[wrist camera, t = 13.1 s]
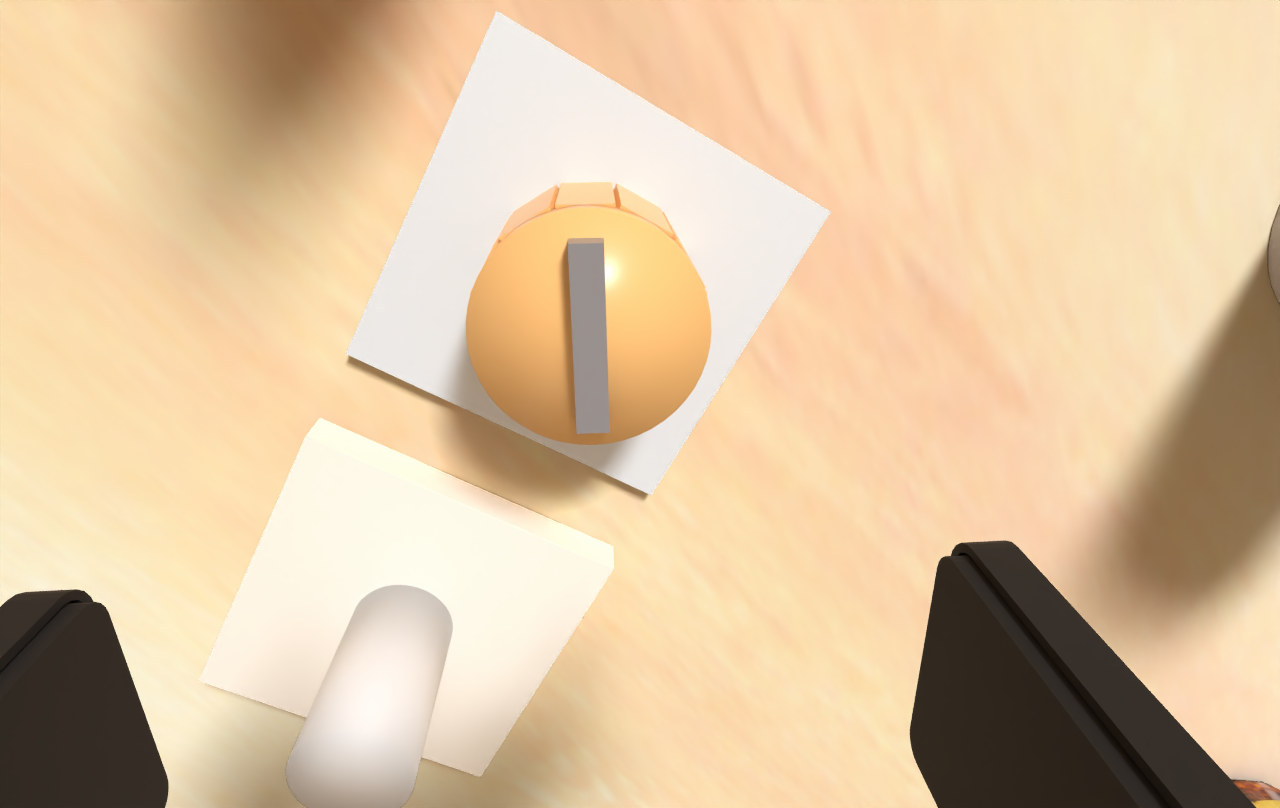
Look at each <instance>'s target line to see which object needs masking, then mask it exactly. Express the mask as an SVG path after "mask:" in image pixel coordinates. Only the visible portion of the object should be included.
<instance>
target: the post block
mask: <svg viewBox="0 0 1280 808" xmlns="http://www.w3.org/2000/svg"><path fill="white" fill-rule="evenodd" d="M613 569H614V559H613V546H611V545H609V544H606V543H604V542H602V541H600V540H597V539H595V538H593V537H591V536H588V535H586V534H584V533H581V532H579V531H577V530H575V529H572V528H570V527H568V526H565V525H563V524H561V523H559V522H556V521H554V520H552V519H549V518H547V517H545V516H543V515H540V514H538V513H536V512H534V511H531V510H529V509H527V508H524V507H522V506H520V505H518V504H515V503H513V502H511V501H508V500H506V499H504V498H502V497H499V496H497V495H495V494H492V493H490V492H488V491H486V490H483V489H481V488H479V487H477V486H474V485H472V484H470V483H467V482H465V481H463V480H461V479H458V478H456V477H454V476H451V475H449V474H447V473H445V472H442V471H440V470H438V469H435V468H433V467H431V466H429V465H426V464H424V463H422V462H419V461H417V460H415V459H413V458H410V457H408V456H406V455H404V454H401V453H399V452H397V451H394V450H392V449H390V448H388V447H385V446H383V445H381V444H378V443H376V442H374V441H372V440H369V439H367V438H365V437H362V436H360V435H358V434H356V433H353V432H351V431H349V430H347V429H344V428H342V427H340V426H337V425H335V424H333V423H331V422H328V421H326V420H324V419H321V418H320V419H319V420H318V421H317V422H316V424H315V425H314V426H313V427H312V429H311V430H310V431H309V432H308V434H307V435H306V437H305V439H304V441H303V443H302V446H301V448H300V450H299V453H298V455H297V457H296V459H295V462H294V464H293V466H292V469H291V471H290V473H289V475H288V478H287V480H286V482H285V485H284V487H283V489H282V491H281V494H280V496H279V498H278V501H277V503H276V505H275V507H274V510H273V512H272V514H271V517H270V519H269V521H268V523H267V526H266V528H265V530H264V533H263V535H262V537H261V540H260V542H259V544H258V546H257V549H256V551H255V553H254V556H253V558H252V560H251V562H250V565H249V567H248V569H247V572H246V574H245V576H244V578H243V581H242V583H241V585H240V588H239V590H238V592H237V594H236V597H235V599H234V601H233V604H232V606H231V608H230V610H229V613H228V615H227V617H226V620H225V622H224V624H223V626H222V629H221V631H220V633H219V636H218V638H217V640H216V642H215V645H214V647H213V649H212V652H211V654H210V656H209V658H208V661H207V663H206V665H205V668H204V670H203V672H202V674H201V677H200V679H199V681H200V682H203V683H206V684H209V685H212V686H215V687H218V688H221V689H223V690H226V691H229V692H232V693H235V694H238V695H241V696H244V697H247V698H250V699H253V700H256V701H259V702H261V703H264V704H267V705H270V706H273V707H276V708H279V709H282V710H285V711H288V712H291V713H294V714H297V715H300V716H302V717H305V718H306V721H305V723H304V725H303V727H302V730H301V732H300V734H299V736H298V739H297V741H296V743H295V745H294V748H293V750H292V752H291V754H290V757H289V759H288V762H287V765H286V780H287V784H288V786H289V788H290V790H291V792H292V794H293V795H294V796H295V797H296V799H297V800H298V801H299V802H300V803H301V804H303V805H304V806H305V807H307V808H401V807H402V806H403V805H404V804H405V803H406V802H407V800H408V799H409V798H410V796H411V794H412V792H413V789H414V785H415V781H416V777H417V773H418V769H419V765H420V761H421V757H422V758H425V759H428V760H431V761H434V762H437V763H440V764H443V765H446V766H449V767H452V768H455V769H458V770H460V771H463V772H466V773H469V774H472V775H475V776H478V777H481V776H482V774H483V773H484V771H485V770H486V768H487V766H488V765H489V763H490V762H491V760H492V759H493V757H494V755H495V754H496V752H497V751H498V749H499V748H500V746H501V745H502V743H503V741H504V740H505V738H506V737H507V735H508V734H509V732H510V730H511V729H512V727H513V726H514V724H515V723H516V721H517V719H518V718H519V716H520V715H521V713H522V712H523V710H524V709H525V707H526V705H527V704H528V702H529V701H530V699H531V698H532V696H533V694H534V693H535V691H536V690H537V688H538V687H539V685H540V683H541V682H542V680H543V679H544V677H545V676H546V674H547V673H548V671H549V669H550V668H551V666H552V665H553V663H554V662H555V660H556V658H557V657H558V655H559V654H560V652H561V651H562V649H563V647H564V646H565V644H566V643H567V641H568V640H569V638H570V637H571V635H572V633H573V632H574V630H575V629H576V627H577V626H578V624H579V622H580V621H581V619H582V618H583V616H584V615H585V613H586V611H587V610H588V608H589V607H590V605H591V604H592V602H593V601H594V599H595V597H596V596H597V594H598V593H599V591H600V590H601V588H602V586H603V585H604V583H605V582H606V580H607V579H608V577H609V575H610V574H611V572H612V571H613Z"/></svg>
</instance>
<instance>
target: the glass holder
mask: <svg viewBox="0 0 1280 808" xmlns="http://www.w3.org/2000/svg"><path fill="white" fill-rule="evenodd" d="M1268 269H1269V275H1270V280H1271V286H1272V288H1273V290H1274V293H1275V295H1276V297H1277V300H1278V302H1279V303H1280V206H1279V209H1278V212H1277V215H1276V218H1275V220H1274V223H1273V226H1272V232H1271V237H1270V242H1269V247H1268Z"/></svg>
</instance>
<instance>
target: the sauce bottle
mask: <svg viewBox="0 0 1280 808" xmlns="http://www.w3.org/2000/svg"><path fill="white" fill-rule="evenodd" d="M1233 783H1234V784H1235V785H1236V786H1237V787H1238V788H1239V789H1240V790H1241V791H1242V792H1243V793H1244V795H1245V796H1246V797H1247V798H1248V799H1249V800H1250V801H1251V802H1252V803H1253V804H1254V805H1255V807H1256V808H1280V790H1279V789H1276V788H1274V787H1272V786H1271V785H1269V784H1266V783H1264V782H1253V781H1244V780H1238V781H1233Z"/></svg>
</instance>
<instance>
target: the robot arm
mask: <svg viewBox="0 0 1280 808" xmlns="http://www.w3.org/2000/svg"><path fill="white" fill-rule="evenodd" d="M910 741H911V747H912V751H913V755H914V758H915V760H916V763H917V765H918V767H919V769H920V771H921V773H922V775H923V778H924V780H925V782H926V784H927V786H928V788H929V790H930V792H931V794H932V796H933V798H934V800H935V802H936V804H937V806H938V808H1256V807H1255V805H1254V804H1253V803H1252V802H1251V801H1250V800H1249V799H1248V798H1247V797H1246V796H1245V795H1244V793H1243V792H1242V791H1241V790H1240V789H1239V788H1238V787H1237V786H1236V785H1235V784H1234V783H1233V781H1232V780H1231V779H1230V778H1229V777H1228V776H1227V775H1226V774H1225V773H1224V772H1223V771H1222V769H1221V768H1220V767H1219V766H1218V765H1217V764H1216V763H1215V762H1214V761H1213V760H1212V759H1211V757H1210V756H1209V755H1208V754H1207V753H1206V752H1205V751H1204V750H1203V749H1202V748H1201V747H1200V745H1199V744H1198V743H1197V742H1196V741H1195V740H1194V739H1193V738H1192V737H1191V736H1190V735H1189V733H1188V732H1187V731H1186V730H1185V729H1184V728H1183V727H1182V726H1181V725H1180V724H1179V722H1178V721H1177V720H1176V719H1175V718H1174V717H1173V716H1172V715H1171V714H1170V713H1169V712H1168V710H1167V709H1166V708H1165V707H1164V706H1163V705H1162V704H1161V703H1160V702H1159V701H1158V700H1157V698H1156V697H1155V696H1154V695H1153V694H1152V693H1151V692H1150V691H1149V690H1148V689H1147V688H1146V686H1145V685H1144V684H1143V683H1142V682H1141V681H1140V680H1139V679H1138V678H1137V677H1136V676H1135V674H1134V673H1133V672H1132V671H1131V670H1130V669H1129V668H1128V667H1127V666H1126V665H1125V664H1124V662H1123V661H1122V660H1121V659H1120V658H1119V657H1118V656H1117V655H1116V654H1115V653H1114V652H1113V650H1112V649H1111V648H1110V647H1109V646H1108V645H1107V644H1106V643H1105V642H1104V641H1103V640H1102V638H1101V637H1100V636H1099V635H1098V634H1097V633H1096V632H1095V631H1094V630H1093V629H1092V627H1091V626H1090V625H1089V624H1088V623H1087V622H1086V621H1085V620H1084V619H1083V618H1082V617H1081V615H1080V614H1079V613H1078V612H1077V611H1076V610H1075V609H1074V608H1073V607H1072V606H1071V605H1070V603H1069V602H1068V601H1067V600H1066V599H1065V598H1064V597H1063V596H1062V595H1061V594H1060V593H1059V591H1058V590H1057V589H1056V588H1055V587H1054V586H1053V585H1052V584H1051V583H1050V582H1049V581H1048V579H1047V578H1046V577H1045V576H1044V575H1043V574H1042V573H1041V572H1040V571H1039V570H1038V569H1037V567H1036V566H1035V565H1034V564H1033V563H1032V562H1031V561H1030V560H1029V559H1028V558H1027V557H1026V555H1025V554H1024V553H1023V552H1022V551H1021V550H1020V549H1019V548H1018V547H1017V546H1016V545H1015V544H1013V543H1012V542H1009V541H988V542H969V543H960V544H958V545H956V546H955V548H954V549H953V551H952V554H951V556H945V557H943V558H941V560H940V561H939V564H938V567H937V572H936V578H935V584H934V590H933V596H932V602H931V608H930V613H929V619H928V625H927V631H926V637H925V643H924V649H923V655H922V661H921V667H920V673H919V678H918V684H917V690H916V696H915V702H914V708H913V714H912V720H911V726H910ZM167 797H168V779H167V775H166V772H165V769H164V767H163V764H162V761H161V758H160V755H159V753H158V750H157V747H156V744H155V741H154V739H153V736H152V733H151V730H150V727H149V725H148V722H147V719H146V716H145V713H144V711H143V708H142V705H141V702H140V699H139V697H138V694H137V691H136V688H135V685H134V682H133V680H132V677H131V674H130V671H129V668H128V666H127V663H126V660H125V657H124V654H123V652H122V649H121V646H120V643H119V640H118V638H117V635H116V632H115V629H114V626H113V624H112V621H111V618H110V615H109V613H108V611H107V609H106V607H105V606H104V605H102V604H101V603H97V602H93V600H92V598H91V597H90V596H89V595H88V594H87V593H86V592H85V591H81V590H58V591H39V592H24V593H20V594H16V595H15V596H13V597H12V598H10V599H9V600H7V601H6V602H5V603H4V604H3V605H2V606H1V607H0V808H165V805H166V802H167Z"/></svg>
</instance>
